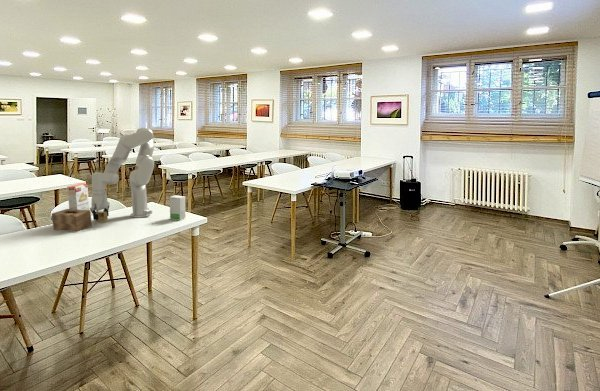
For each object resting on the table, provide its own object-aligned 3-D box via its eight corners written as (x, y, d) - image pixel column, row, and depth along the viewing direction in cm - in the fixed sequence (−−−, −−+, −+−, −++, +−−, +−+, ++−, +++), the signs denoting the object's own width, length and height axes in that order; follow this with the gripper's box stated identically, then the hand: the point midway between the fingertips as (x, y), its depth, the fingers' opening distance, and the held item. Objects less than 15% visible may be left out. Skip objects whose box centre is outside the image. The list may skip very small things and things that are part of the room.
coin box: (91, 226, 231) (90, 210, 229) (77, 231, 220) (75, 215, 218) (68, 224, 234) (67, 208, 232) (53, 229, 222) (51, 213, 220)
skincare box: (169, 219, 250) (168, 196, 246) (175, 217, 256) (174, 194, 253) (180, 220, 247) (179, 197, 244) (186, 218, 253) (185, 195, 250)
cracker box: (78, 217, 250) (75, 186, 245) (69, 217, 250) (66, 186, 245) (90, 212, 263) (87, 183, 259) (82, 212, 263) (79, 182, 259)
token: (107, 220, 244) (106, 211, 243) (104, 221, 241) (103, 212, 240) (99, 219, 245) (98, 211, 244) (96, 221, 242) (95, 212, 241)
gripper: (103, 189, 248) (104, 214, 251) (84, 194, 231) (86, 220, 235) (113, 190, 247) (115, 215, 250) (95, 195, 230) (97, 221, 234)
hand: (101, 217), depth 243 cm, fingers open, 9 cm apart
